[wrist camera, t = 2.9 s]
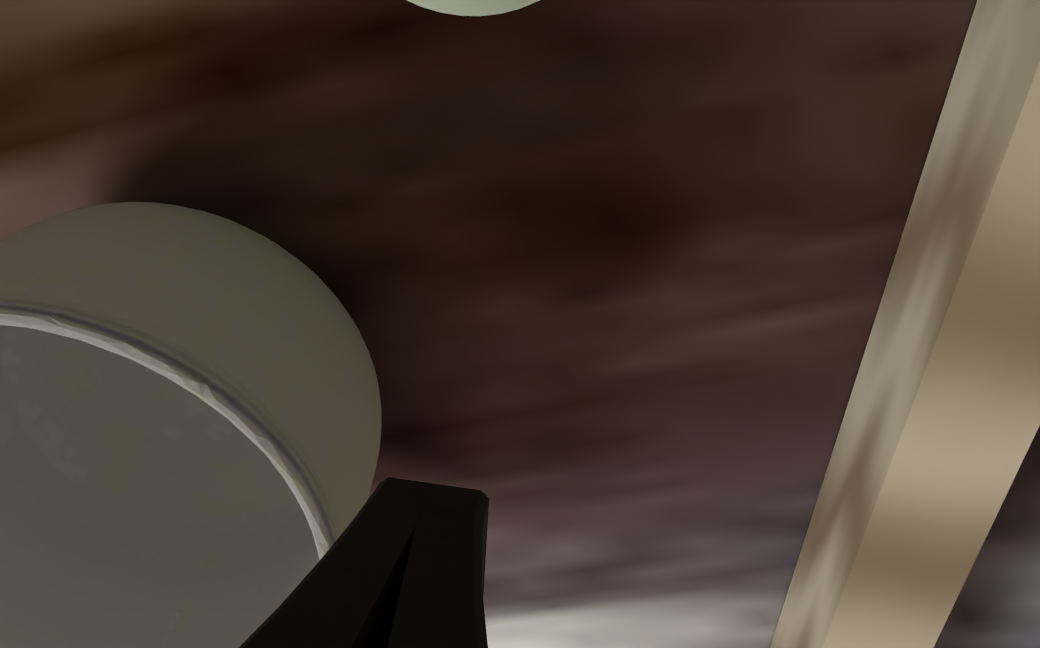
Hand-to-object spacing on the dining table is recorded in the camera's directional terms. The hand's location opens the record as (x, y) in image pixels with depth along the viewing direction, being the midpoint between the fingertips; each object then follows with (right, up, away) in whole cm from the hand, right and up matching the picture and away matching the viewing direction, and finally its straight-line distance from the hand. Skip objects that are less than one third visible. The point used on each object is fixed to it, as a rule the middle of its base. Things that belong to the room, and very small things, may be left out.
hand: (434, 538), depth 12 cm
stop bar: (+10, -1, +11) cm, 15 cm away
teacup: (-6, +1, +13) cm, 14 cm away
